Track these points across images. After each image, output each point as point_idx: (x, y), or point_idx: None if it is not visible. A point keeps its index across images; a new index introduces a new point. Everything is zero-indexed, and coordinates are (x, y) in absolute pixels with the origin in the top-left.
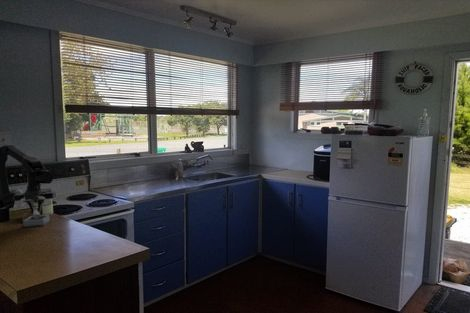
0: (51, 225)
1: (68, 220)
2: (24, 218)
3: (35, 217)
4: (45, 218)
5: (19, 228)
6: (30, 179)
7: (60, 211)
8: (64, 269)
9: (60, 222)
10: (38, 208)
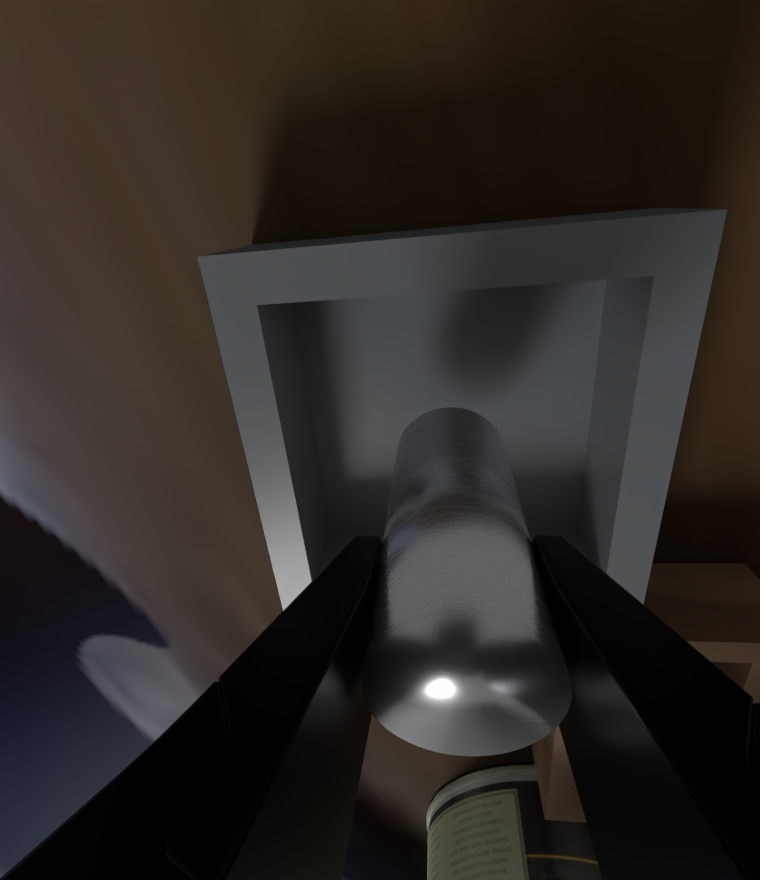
0: (93, 209)
1: (9, 479)
2: (740, 608)
3: (456, 426)
4: (236, 400)
5: (730, 70)
6: None
7: (368, 848)
8: None
9: (59, 392)
10: (335, 611)
